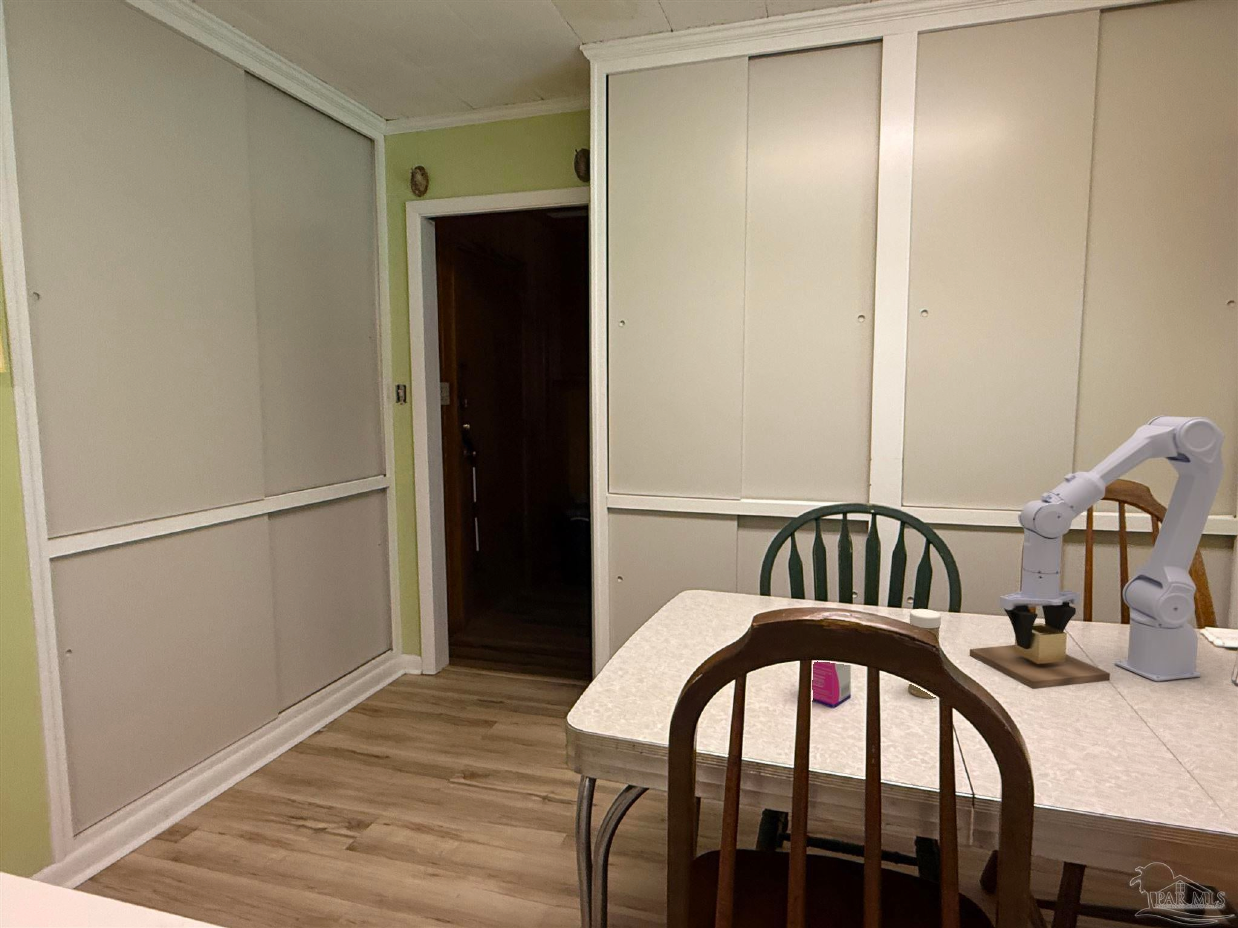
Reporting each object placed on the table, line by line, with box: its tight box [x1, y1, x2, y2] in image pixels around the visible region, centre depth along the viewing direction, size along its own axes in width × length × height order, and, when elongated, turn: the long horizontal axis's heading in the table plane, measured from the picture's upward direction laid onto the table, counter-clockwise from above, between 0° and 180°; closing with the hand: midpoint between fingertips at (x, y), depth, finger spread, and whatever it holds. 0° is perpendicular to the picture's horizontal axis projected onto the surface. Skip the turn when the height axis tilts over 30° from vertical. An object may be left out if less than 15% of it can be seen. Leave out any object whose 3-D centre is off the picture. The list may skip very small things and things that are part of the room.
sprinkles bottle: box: [907, 608, 942, 699], centre depth 113 cm, size 5×5×13 cm
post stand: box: [969, 644, 1111, 689], centre depth 123 cm, size 15×15×5 cm
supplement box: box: [812, 661, 852, 709], centre depth 111 cm, size 6×6×12 cm
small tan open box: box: [1014, 622, 1068, 664], centre depth 122 cm, size 5×5×5 cm
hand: (1037, 645), depth 123 cm, fingers closed on small tan open box, 5 cm apart
